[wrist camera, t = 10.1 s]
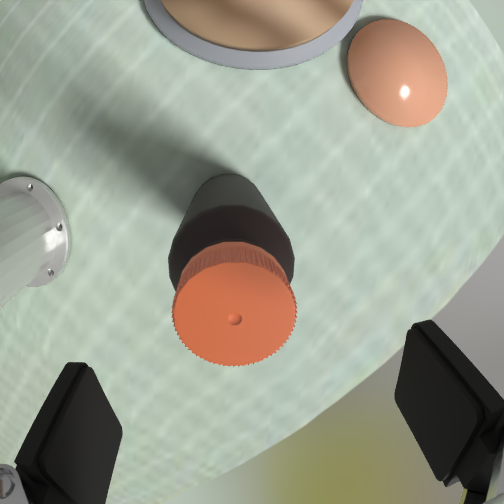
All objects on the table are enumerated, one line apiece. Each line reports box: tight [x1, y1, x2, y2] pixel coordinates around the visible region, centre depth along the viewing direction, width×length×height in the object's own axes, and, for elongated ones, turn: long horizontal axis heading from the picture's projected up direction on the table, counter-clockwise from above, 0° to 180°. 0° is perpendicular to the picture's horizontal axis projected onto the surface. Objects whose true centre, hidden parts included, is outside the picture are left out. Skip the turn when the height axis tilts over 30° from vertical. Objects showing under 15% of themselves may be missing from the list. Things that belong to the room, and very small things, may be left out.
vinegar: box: [168, 174, 297, 366], centre depth 22 cm, size 7×7×20 cm
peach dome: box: [347, 19, 448, 127], centre depth 27 cm, size 12×12×1 cm
